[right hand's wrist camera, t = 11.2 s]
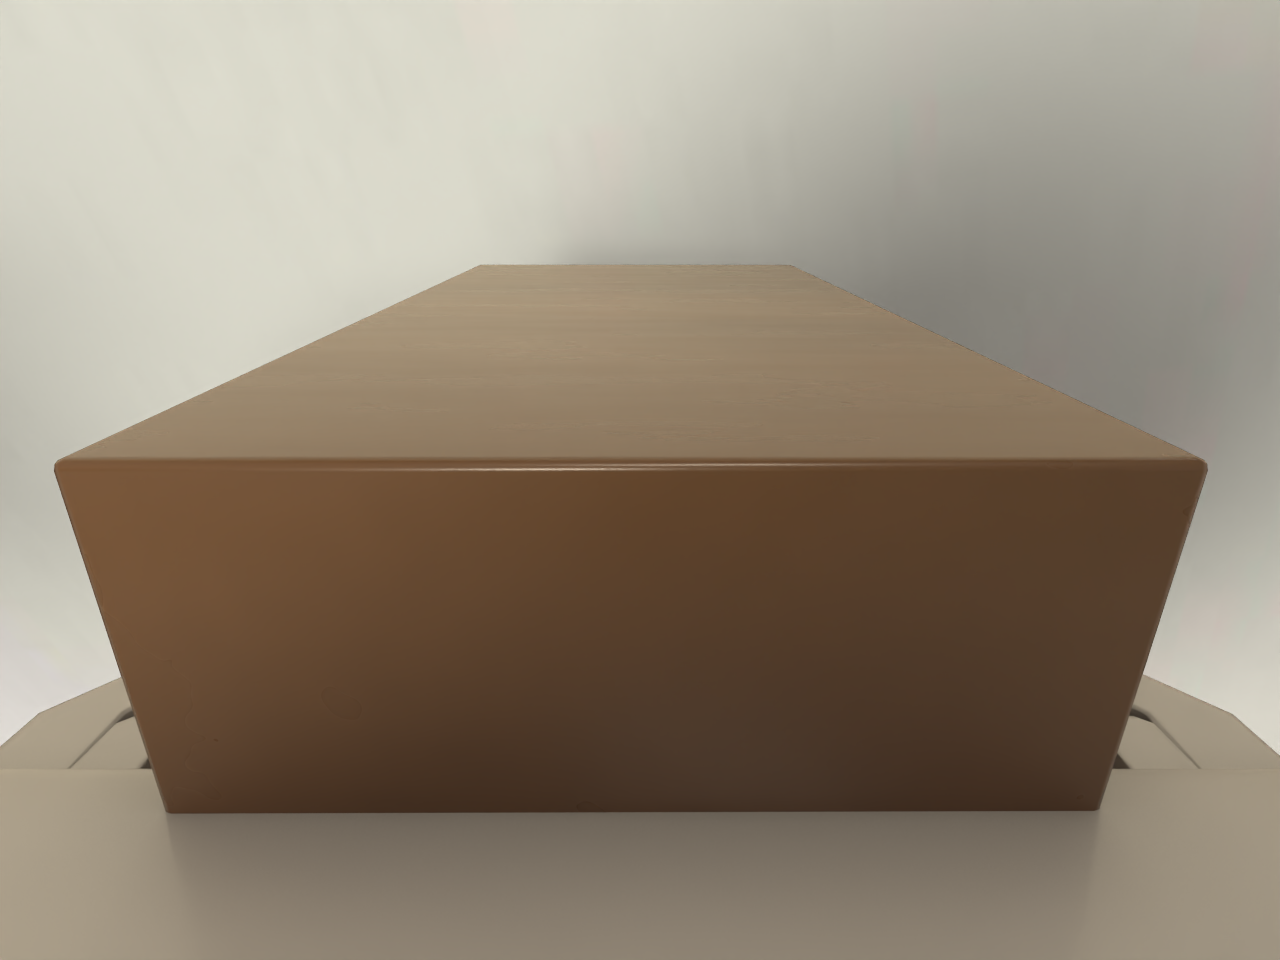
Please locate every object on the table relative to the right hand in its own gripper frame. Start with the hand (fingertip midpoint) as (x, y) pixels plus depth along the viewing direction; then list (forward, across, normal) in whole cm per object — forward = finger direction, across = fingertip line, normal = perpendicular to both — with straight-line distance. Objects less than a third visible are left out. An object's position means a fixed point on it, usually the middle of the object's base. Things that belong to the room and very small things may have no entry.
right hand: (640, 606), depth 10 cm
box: (+6, 0, -9) cm, 11 cm away
